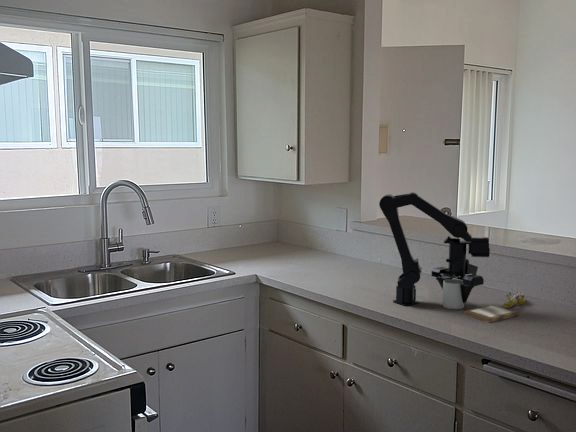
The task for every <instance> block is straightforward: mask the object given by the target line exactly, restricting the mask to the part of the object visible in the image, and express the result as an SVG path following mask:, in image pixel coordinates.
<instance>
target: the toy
mask: <svg viewBox="0 0 576 432" xmlns="http://www.w3.org/2000/svg"><path fill="white" fill-rule="evenodd" d="M511 296H512V293H511V292H507V293H505V295H504V297H505V298H507V300H508V301H506V302H504V303H503V305H504V306H505V307H506V308H505V309H510V308H512V307H513V306H516V305H517V306H520V305H523V304H524V303H525V301H526V299H525V293H524V292H521V291H518V290H516V291H515V294H514V295H513V296H512V298H511Z"/></svg>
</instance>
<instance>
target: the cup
mask: <svg viewBox="0 0 576 432" xmlns="http://www.w3.org/2000/svg"><path fill="white" fill-rule="evenodd" d="M460 284H464V283H463V280H459V279H455V278H453V279H446V280H444V281H443V290H442V307H443V308H444V309H447V310H462V309H464V308H465V303H463V301H462V294H461V287H460Z"/></svg>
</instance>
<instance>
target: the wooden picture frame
mask: <svg viewBox="0 0 576 432" xmlns="http://www.w3.org/2000/svg"><path fill="white" fill-rule="evenodd" d="M518 313H519V312H518V311H517V310H516V311H515V310H511V309H510V308H505V307H501V306H497V305H494V304H490V305H486V306H482V307H481V306H480V307H476V308H472V309H467V310H464V313H463V314H464V315H465V316H468V317H471V318H474V319H478V320H479V321H483V322H486V323H493V322H497V321H501V320H506V319H509V318H514V317H517V316H519V314H518Z"/></svg>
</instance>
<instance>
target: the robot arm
mask: <svg viewBox="0 0 576 432" xmlns="http://www.w3.org/2000/svg"><path fill="white" fill-rule="evenodd" d="M378 204H379V209H380V210H381V212H382V214H383V215H384V217H385V218H386V220H387V222H388V224H389V227H390V229H391V232H392V235H393V239H394V243H395V246H396V247H397V250H398V254H399V257H400V260H401V261H400V262H401V268H402V274H401V275H399V276H398V278H397V282H396V283H397V285H396V288H395V289H396V290H395V293H396V294H395V296H396V297H395V299H394V300H393V299H392V302H393V303H396V304H398V305H401V306H405V307H406V306H411V305H417V304H419V301H417V300H416V297H417V289H416V285H415V284H417V283H418V282H419V281H420V279H421V274H422V271H423V268H422V266H421V265H420V262H419V257H418V258H414V256H413V254H412V253H411V250H410V246H409V244H408V241H407V238H406V235H405V232H404V229H403V226H402V223H401V221H400V220H401V219H400V215H399V208H402V207H406V206H411V205H412V206H413V207H415V208H416V209H418V210H419V211H420V212H422V213H423V214H426V215H427V216H429V217H430V218H432V219H433V220H434V221H436V222H437V223H439V224H440V225H441V226H442V227H443V228H444V229H445V230H446V231H447V232H448V234H450V235H451V236H453V237H451V236H450V235H447V237H446V238H445V239H443V243H444V244H448V258H445V262H446V263H448V267H444V266H438V267H433V268H432V270H431V277H433V278H434V277H435V280H437V282H438V283H439V285H440V288H441V290H442V291H443V281H444V280H446V279H456V280H462V281H463V283H464V284H460V287H461V294H462V301H463V303H464V304H465V303H467V300H468V299H469V296H470V295H471V292H472V290H473V288H474V287H478V286H481V285H482V286H483V285H484V281H485V279H484V277H483V276H482V275H478V274H477V273H478V269H479V266H477V265H474V264H471V263H470V259H468V258H467V254H469V255H470V256H471V258H490V251H491V248H490V238H489V237H485V236H484V237H472V234H471V233H469V231H468V226H467V224H466V222H465V221H464V220H463V219H460V218H458V217H456V216H454V215H451V214H448V213H445V212H444V211H442V210H441V209H439V208H438V207H436V206H435V205H433V204H432V203H431V202H429V201H427V200H426V199H424V198H423V197H421V196H419V195H418V194H417V193H416V192H413V191H412V192H409V193H404V194H397V195H392V194H385V195H383V196H382V197H381V198H380V200H379V202H378ZM460 238H461V239H462V240H461V239H460Z"/></svg>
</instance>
